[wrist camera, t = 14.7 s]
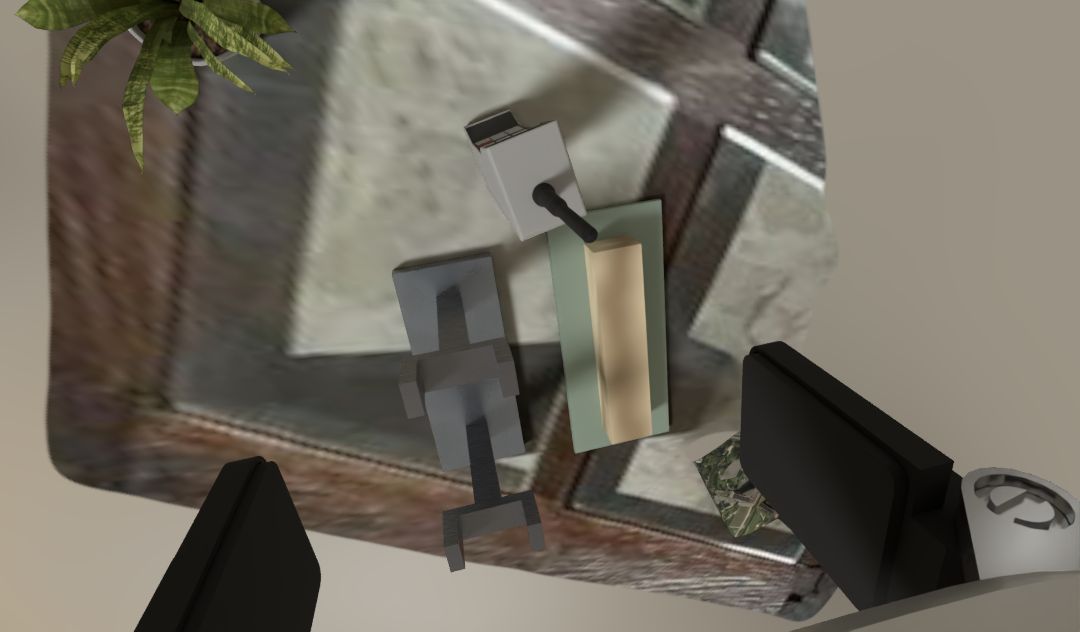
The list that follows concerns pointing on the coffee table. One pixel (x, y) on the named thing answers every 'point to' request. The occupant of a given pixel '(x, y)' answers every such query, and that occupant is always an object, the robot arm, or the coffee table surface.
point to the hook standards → (465, 391)
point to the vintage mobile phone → (529, 175)
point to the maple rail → (620, 336)
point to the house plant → (162, 44)
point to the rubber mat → (577, 322)
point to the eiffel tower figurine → (734, 491)
